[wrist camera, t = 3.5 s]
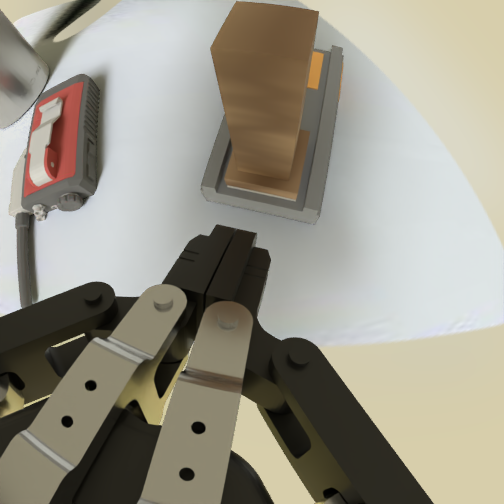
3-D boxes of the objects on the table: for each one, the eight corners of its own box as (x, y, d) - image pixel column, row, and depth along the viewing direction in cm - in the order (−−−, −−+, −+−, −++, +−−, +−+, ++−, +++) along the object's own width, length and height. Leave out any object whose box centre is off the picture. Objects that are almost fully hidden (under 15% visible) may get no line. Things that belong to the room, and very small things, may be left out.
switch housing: (206, 200, 19) (197, 185, 16) (255, 55, 21) (253, 32, 18) (315, 224, 19) (323, 212, 16) (340, 71, 21) (346, 48, 18)
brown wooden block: (226, 185, 17) (183, 61, 7) (244, 127, 17) (224, -7, 8) (295, 199, 17) (328, 80, 7) (308, 139, 17) (337, 7, 7)
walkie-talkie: (36, 113, 23) (29, 312, 19) (12, 92, 18) (-8, 312, 15) (105, 80, 22) (112, 296, 19) (86, 51, 18) (77, 294, 15)
